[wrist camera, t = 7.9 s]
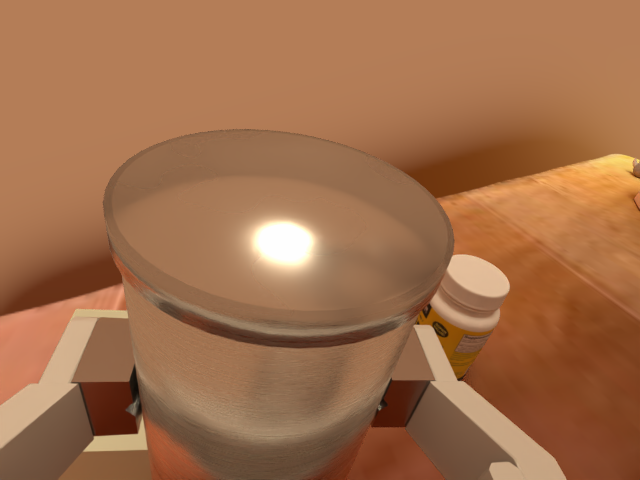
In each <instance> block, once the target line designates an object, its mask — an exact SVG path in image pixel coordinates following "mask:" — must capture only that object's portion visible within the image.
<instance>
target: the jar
mask: <svg viewBox="0 0 640 480" xmlns="http://www.w3.org/2000/svg"><path fill="white" fill-rule="evenodd" d="M634 201H635V202H636V204H637V206H638V208H639V209H640V191H639V192H638V194H637V195H636V197H635V198H634Z"/></svg>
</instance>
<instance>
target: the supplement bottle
mask: <svg viewBox="0 0 640 480" xmlns="http://www.w3.org/2000/svg"><path fill="white" fill-rule="evenodd" d="M509 289H510V285H509V281H508V279H507V278H506V276H505V275H504V274H503V273H502V272H501V271H500V270H499V269H498V268H497V267H495V266H494V265H492V264H491V263H489V262H487V261H485V260H483V259H480V258H478V257H475V256H471V255H454V256H452V258H451V261H450V263H449V266H448V268H447V270H446V272H445V275H444V277H443V279H442V281H441V283H440V286H439V288H438V290H437V292H436V294H435V295H434V297H433V298H432V300H431V301H430V303H429V304H428V305H427V306H426V307H425V308H424V309H423V310H422V311H421V312H420V313H419V315H418V317H417V320H416V322H415V324H414V325H430V326H431V327H433V328H434V331H435V333H436V335H437V337H438V339H439V341H440V344H441V346H442V348H443V350H444V352H445V354H446V357H447V359H448V361H449V363H450V365H451V367H452V369H453V372H454V374H455V376H456V378H457V380H458V381H461V380H462V379H463V377H464V376H465V374H466V373H467V371H468V370H469V368H470V366H471V365H472V363H473V362H474V360H475V358H476V357H477V355H478V354H479V352H480V351H481V349H482V347H483V346H484V344H485V343H486V341H487V339H488V338H489V336H490V335H491V333H492V332H493V330H494V328H495V327H496V325H497V323H498V321H499V318H500V309H499V308H500V306H501V305H502V303H503V301H504V299H505V297H506V296H507V294H508V292H509Z"/></svg>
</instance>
